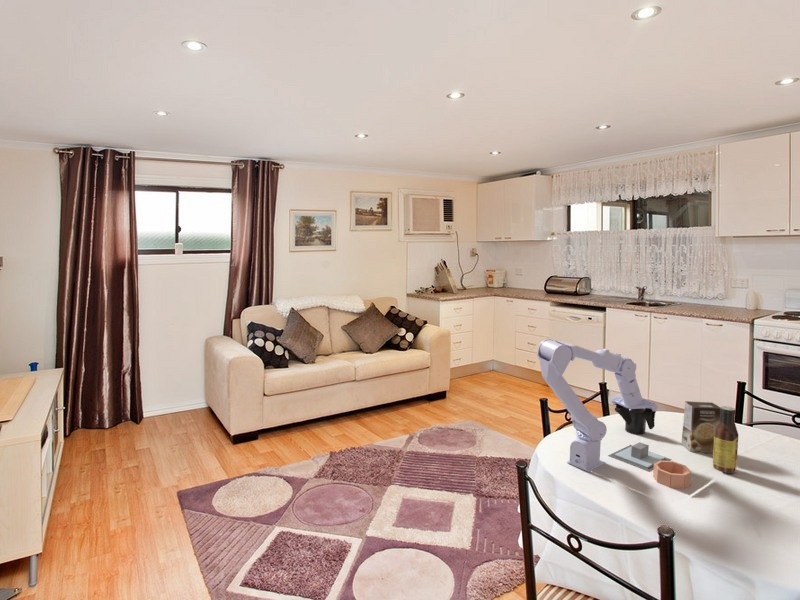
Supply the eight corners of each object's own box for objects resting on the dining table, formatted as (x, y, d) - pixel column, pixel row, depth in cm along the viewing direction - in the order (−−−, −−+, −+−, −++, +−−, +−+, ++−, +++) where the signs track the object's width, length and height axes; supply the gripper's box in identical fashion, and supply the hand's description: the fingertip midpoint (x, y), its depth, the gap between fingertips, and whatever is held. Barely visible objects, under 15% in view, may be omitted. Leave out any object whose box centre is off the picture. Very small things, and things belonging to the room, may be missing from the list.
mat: (649, 473, 153) (649, 471, 153) (607, 457, 164) (607, 455, 164) (671, 461, 161) (671, 459, 161) (630, 446, 173) (630, 444, 173)
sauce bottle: (739, 475, 152) (745, 413, 149) (717, 473, 153) (722, 411, 150) (730, 465, 158) (735, 405, 155) (708, 463, 159) (713, 404, 157)
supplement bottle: (648, 436, 181) (650, 404, 180) (629, 435, 181) (631, 404, 180) (640, 428, 188) (641, 398, 186) (621, 428, 188) (623, 398, 186)
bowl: (679, 492, 142) (680, 478, 141) (648, 480, 149) (649, 466, 148) (694, 483, 147) (695, 469, 146) (663, 471, 154) (664, 458, 154)
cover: (647, 468, 155) (648, 456, 155) (614, 456, 164) (615, 444, 164) (664, 459, 162) (665, 447, 161) (632, 447, 170) (632, 436, 170)
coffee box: (689, 453, 167) (693, 407, 165) (680, 445, 173) (684, 401, 171) (718, 454, 166) (722, 408, 164) (708, 446, 172) (712, 401, 170)
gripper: (657, 386, 157) (668, 422, 160) (615, 381, 169) (626, 415, 172) (646, 397, 153) (658, 434, 156) (604, 392, 165) (615, 426, 168)
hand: (640, 425), depth 164 cm, fingers open, 7 cm apart
